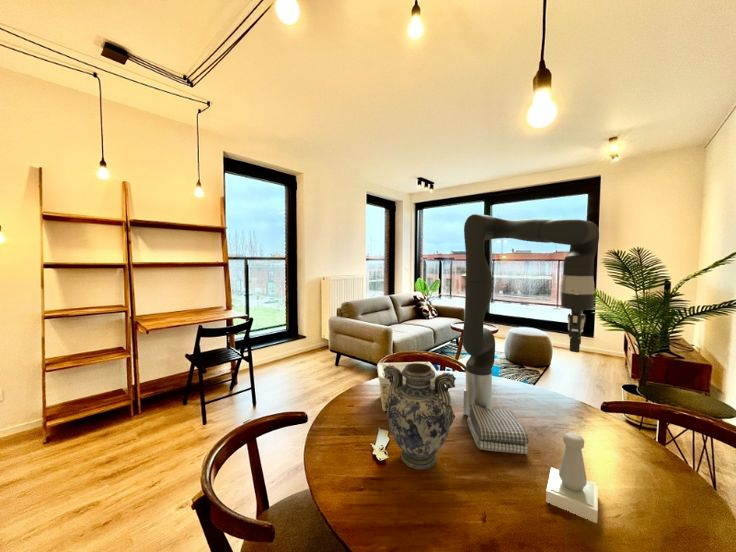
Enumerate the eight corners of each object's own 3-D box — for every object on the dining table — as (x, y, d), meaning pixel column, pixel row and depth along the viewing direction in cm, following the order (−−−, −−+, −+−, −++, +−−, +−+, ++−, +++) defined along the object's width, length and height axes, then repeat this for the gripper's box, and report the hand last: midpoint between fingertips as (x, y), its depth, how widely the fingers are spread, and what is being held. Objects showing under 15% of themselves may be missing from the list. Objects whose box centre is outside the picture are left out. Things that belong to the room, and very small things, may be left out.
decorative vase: (457, 445, 96) (457, 360, 94) (453, 488, 78) (453, 385, 76) (392, 433, 103) (390, 354, 101) (375, 471, 85) (373, 376, 83)
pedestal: (546, 502, 74) (546, 489, 74) (550, 477, 82) (551, 466, 81) (597, 523, 68) (597, 510, 67) (597, 495, 76) (597, 483, 75)
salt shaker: (591, 496, 71) (593, 444, 70) (564, 493, 72) (566, 441, 71) (579, 478, 77) (581, 430, 76) (554, 475, 78) (556, 427, 77)
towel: (478, 454, 92) (478, 429, 92) (465, 421, 110) (466, 400, 110) (530, 457, 90) (531, 432, 90) (509, 423, 109) (509, 402, 108)
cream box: (379, 414, 116) (378, 376, 115) (376, 394, 132) (376, 361, 131) (440, 412, 117) (440, 375, 116) (430, 393, 133) (430, 360, 132)
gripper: (563, 288, 92) (562, 340, 94) (559, 293, 81) (557, 351, 82) (594, 289, 88) (592, 344, 89) (593, 295, 77) (591, 357, 78)
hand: (575, 347), depth 86 cm, fingers open, 8 cm apart
